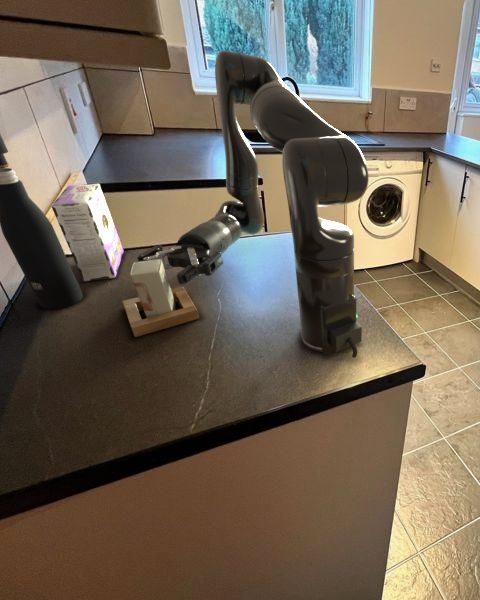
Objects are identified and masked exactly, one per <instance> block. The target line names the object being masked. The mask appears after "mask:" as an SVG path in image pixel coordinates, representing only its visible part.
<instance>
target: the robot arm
mask: <svg viewBox="0 0 480 600" xmlns="http://www.w3.org/2000/svg"><path fill="white" fill-rule="evenodd" d="M214 76H215V78H214V79H215V89H216V97H217V102H218V104H217V105H218V111H219V120H220V128H221V133H222V140H223V146H224V155H225V186H226V187H225V188H226V192H227V194H228V195H229V196H231V197H232V198H234V199H236V200H226V201H224V202H223V203H222V204H221V205H220V207H219V209H218V211H217V212H216V214H215V215H214V216H213V217H212V218H210V219H208V220H207V221H205V222H202V223H200V224H198V225H197V226H195V227H193V228H192V229H190V230H189V231H187V232H185V233H184V234H182V235H180V237H179V238H178V239H177V243H176V245H175V246H172V247H169V248H168V249H165V248H163V246H162V245H161V244H157V245H154V246H153V247H151V248H149V249H147V250H145V251H143V252H142V253H140V254H138V255H136V258H137V262H139V261H148V260H157V259H161V260H162V263H163V266H164V269H165V271H166V270H169V269H173V268H182V270H180V271H179V272H177V274H176V278H177V281H178V284H179V285H181V286H182V285H183V286H184V285H186V284H187V283H189V282H191V281H192V280H193V279H195V278H196V277H201V276H202V275H205V277H210V276H212V275H213V274H214V273H215V272H216V271H217V270H218V269H220V268H221V267H222V265H223V264H224V259H223V255H222V254H224V253H225V252H226V251H227V250H228V249H229V248H230V247H231V246H232V245H233V244H235V243H236V242H237V241H238V240H239V239H240V238H241V236H242V233H243V234H247V235H250V236H251V235H253V236H255V235H257V234H259V233H260V232H261V231H262V229H263V228H264V225H265V213H264V210H263V206H262V203H261V202H262V201H261V199H260V194H259V162H258V159H257V156H256V154H255V151H254V150H253V148H252V146H251V145H250V143H249V141H248V140H247V138H246V136H245V134H244V132H243V131H242V128H241V126H240V124H239V121H238V117H237V113H236V112H237V111H236V105H239V106H240V105H241V106H247V107H249V114H250V118H251V121H252V123H253V125H254V127H255V128H256V130H257V131H258V133H259V134H260V135H261V137H262V138H263V139H264V140H265V142H266V143H267V144H268V145H269V146H271V147H272V148H273V149H274V150H277V151H279V152H281V153H282V157H281V161H282V173H283V181H284V187H285V194H286V200H287V207H288V214H289V215H288V216H289V224H290V230H291V236H292V244H293V254H294V267H295V279H296V287H297V289H296V290H297V299H298V309H299V321H300V329H301V331H300V337H301V342H302V343H303V345H304V346H305V347H306V348H308V349H310V350H313V351H316V352H318V353H319V352H320V353H323V355H325V356H329V355H331V354H333V353H336V352H337V353H339V352H340V351H343V350H344V349H347V348H349V347H351V350H352V354H351V357H352V358H353V359H355V358H357V355H358V348H357V345H356V344H358V343H359V344H360V343H361V342H363V341H362V337H363V334H362V333H363V331H362V330H363V326H361V324H359V323H358V322H357V318H358V314H357V311H358V310H357V309H358V308H357V303H358V302H357V297H356V296H355V235H354V232H353V230H352V229H351V228H350V227H348V226H347V225H345V224H343V223H340V222H338V221H333V220H329V219H326V218H322V217H319V212H318V211H319V210H318V208H327V207H335V206H343V205H349V204H351V203H355V202H357V201H358V200H361V198H363V196H364V195H365V193H366V191H367V190H368V186H369V178H370V177H369V169H368V165H367V163H366V162H367V161H366V159H365V157H364V154H363V153H362V151H361V149H360V148H359V146H358V145H357V143H355V141H354V140H352V139H351V138H350V137H349V136H347V135H346V134H344V133H342V132H341V131H339V130H338V129H336V128H334V127H333V126H332V125H330V124H328V122H326V121H325V120H324V119H323V118H321V117H320V116H319V115H318V114H317V113H316V112H315V111H314V110H312V109H311V108H310V107H309V106H308V105H307V104H306V103H305V102H304V101H303V100H302V99H301V98H300V97H299V96H298V95H297V94H296V93H295V92H294V91H292V90H291V89H290V87H288V86H287V84H285V83H284V81H283V80H282V79H281V77H280V76H279V74H278V73H277V72H276V70H275V68H274V67H273V66H272V65H271V63H270V62H269V61H268V60H266V59H265V58H262V57H260V56H255V55H250V54H245V53H240V52H234V51H230V50H221V51H219V52H218V53H217V55H216V59H215V64H214ZM165 257H166V258H167V262H168V263H165Z"/></svg>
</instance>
